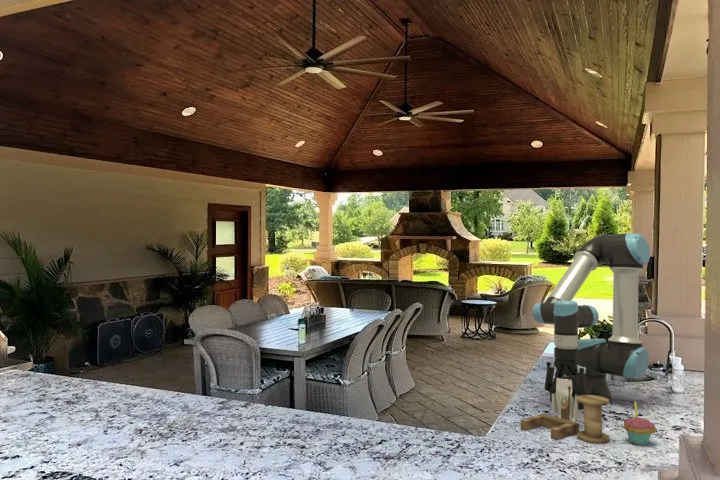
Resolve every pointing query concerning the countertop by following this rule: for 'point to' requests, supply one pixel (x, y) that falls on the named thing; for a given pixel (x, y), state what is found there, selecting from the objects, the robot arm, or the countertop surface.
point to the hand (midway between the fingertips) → (566, 415)
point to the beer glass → (565, 398)
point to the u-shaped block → (551, 425)
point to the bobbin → (593, 419)
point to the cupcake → (639, 428)
